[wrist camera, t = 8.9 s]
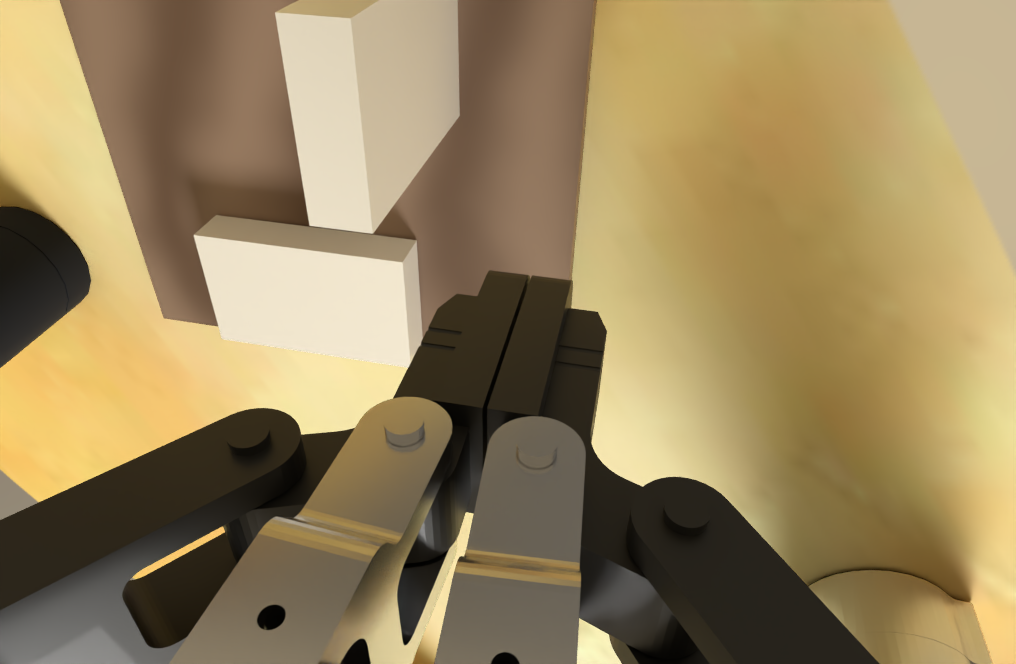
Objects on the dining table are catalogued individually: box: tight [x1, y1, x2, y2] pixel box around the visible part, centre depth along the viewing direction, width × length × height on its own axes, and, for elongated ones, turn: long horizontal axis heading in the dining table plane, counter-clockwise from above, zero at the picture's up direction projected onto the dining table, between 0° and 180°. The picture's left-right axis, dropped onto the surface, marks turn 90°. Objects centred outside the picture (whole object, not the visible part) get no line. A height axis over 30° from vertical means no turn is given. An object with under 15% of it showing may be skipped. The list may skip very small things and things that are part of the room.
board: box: [60, 0, 597, 337], centre depth 32 cm, size 22×20×1 cm
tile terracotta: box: [275, 0, 460, 234], centre depth 24 cm, size 2×6×10 cm, turn 179°
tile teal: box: [194, 215, 423, 368], centre depth 35 cm, size 2×6×10 cm
